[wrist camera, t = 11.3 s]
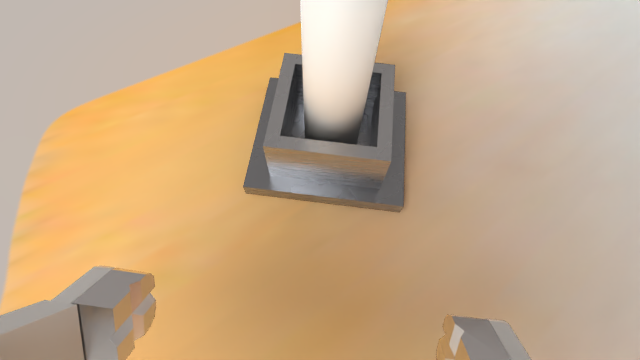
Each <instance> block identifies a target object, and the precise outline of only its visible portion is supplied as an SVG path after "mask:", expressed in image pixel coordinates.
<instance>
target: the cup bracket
mask: <svg viewBox="0 0 640 360" xmlns="http://www.w3.org/2000/svg"><path fill="white" fill-rule="evenodd" d="M394 77H395V65H390V64H381V63H374V67H373V71H372V76H371V81H370V85H369V90H368V95H367V99H366V104H365V108H364V113H363V118H362V122H361V127H360V132H359V136H358V141H357V144H356V145H354V144H346V143H337V142H329V141H320V140H312V139H305V128H304V98H303V68H302V55H298V54H289V53H285V54H284V58H283V62H282V67H281V71H280V75H279V78H270V80H269V84H268V88H267V93H266V97H265V101H264V105H263V109H262V113H261V117H260V121H259V125H258V129H257V133H256V137H255V141H254V145H253V149H252V153H251V157H250V161H249V165H248V169H247V173H246V177H245V181H244V185H243V188H244V190H245V192H246V193H247V194H255V195H263V196H272V197H280V198H288V199H296V200H304V201H312V202H320V203H328V204H336V205H344V206H352V207H361V208H369V209H377V210H385V211H393V212H400V211H401V210H402V208H403V205H404V153H405V101H406V93H405V92H396V91H394Z"/></svg>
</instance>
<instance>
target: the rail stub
mask: <svg viewBox="0 0 640 360" xmlns="http://www.w3.org/2000/svg"><path fill="white" fill-rule="evenodd" d="M387 2H388V0H300V5H301V6H300V8H301V38H302V68H303V98H304V128H305V139H312V140H320V141H329V142H337V143H346V144H354V145H356V144H357V141H358V136H359V132H360V127H361V122H362V118H363V113H364V108H365V104H366V99H367V95H368V90H369V85H370V81H371V76H372V71H373V67H374V62H375V57H376V53H377V48H378V44H379V39H380V34H381V30H382V25H383V20H384V16H385V11H386V6H387Z"/></svg>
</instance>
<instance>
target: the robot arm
mask: <svg viewBox="0 0 640 360" xmlns="http://www.w3.org/2000/svg"><path fill="white" fill-rule="evenodd" d="M154 287H155V282H154V276H153V275H152V274H151V273H146V272H139V271H133V270H127V269H121V268H114V267H107V266H95V267H93V268H92V269H91V270H89V271H88V272H87V273H86V274H84V275H83V276H82V277H80V278H79V279H78V280H77V281H75V282H74V283H73V284H72V285H70V286H69V287H68V288H66V289H65V290H64V291H63V292H61V293H60V294H59V295H58V296H56V297H55V298H54V299H52V300H51V301H48V300H44V301H41V302H38V303H35V304H32V305H29V306H27V307H24V308H21V309H18V310H15V311H12V312H9V313H7V314H4V315H1V316H0V360H126V359H127V358H128V356H129V355H130V354H131V352H132V351H133V350H134V348H135V346H134V340H136V339H138V338H140V337H142V336H144V335H145V334H146V332H147V331H148V329H149V328H150V326H151V324H152V322H153V319H154V317H155V311H156V300H155V298H154V297H153V296H152V295H151V293H150V292H151V291H152V290H153V288H154ZM443 329H444V332H445V335H444V336H443V337H442V338H441V339H439V342H438V346H437V354H436V360H531V358H530V357H529V355H528V353H527V352H526V350H525V349H524V347H523V346H522V344H521V342H520V341H519V339H518V338H517V336H516V335H515V333H514V331H513V330H512V328H511V327H510V325H509V324H508V323H507V322H506V321H503V320H493V319H479V318H472V317H464V316H456V315H449V314H447V316H446V318H445V320H444V323H443Z"/></svg>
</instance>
